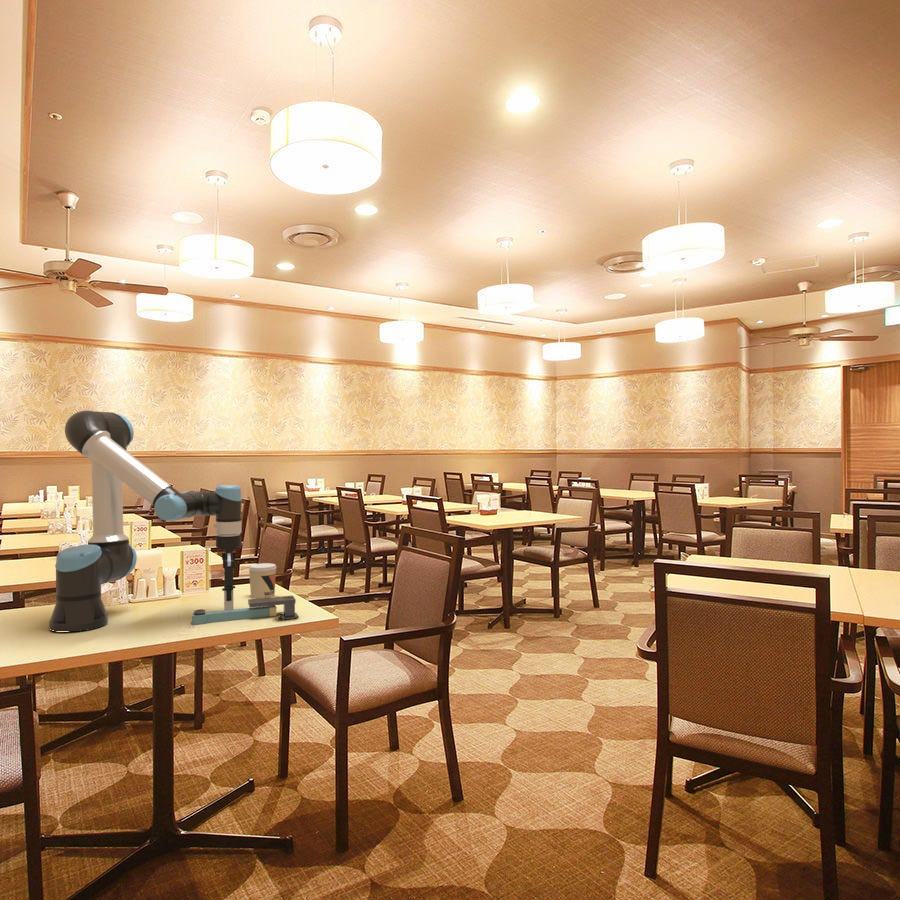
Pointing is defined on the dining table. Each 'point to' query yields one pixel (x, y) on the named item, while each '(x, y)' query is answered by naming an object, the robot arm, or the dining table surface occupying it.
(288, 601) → the bracket
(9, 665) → the dining table surface
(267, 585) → the coffee cup
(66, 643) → the dining table surface
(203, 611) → the pintle base
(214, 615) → the swing link
